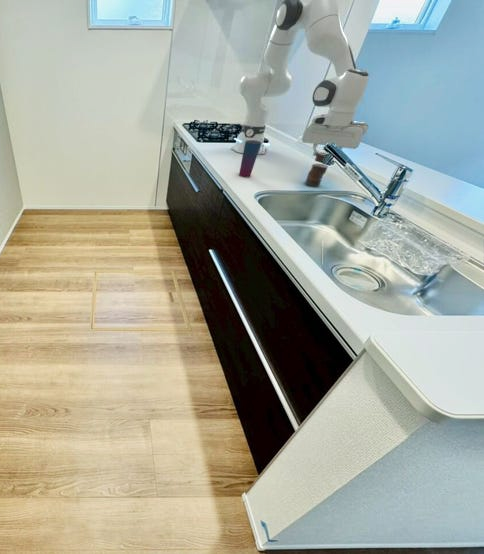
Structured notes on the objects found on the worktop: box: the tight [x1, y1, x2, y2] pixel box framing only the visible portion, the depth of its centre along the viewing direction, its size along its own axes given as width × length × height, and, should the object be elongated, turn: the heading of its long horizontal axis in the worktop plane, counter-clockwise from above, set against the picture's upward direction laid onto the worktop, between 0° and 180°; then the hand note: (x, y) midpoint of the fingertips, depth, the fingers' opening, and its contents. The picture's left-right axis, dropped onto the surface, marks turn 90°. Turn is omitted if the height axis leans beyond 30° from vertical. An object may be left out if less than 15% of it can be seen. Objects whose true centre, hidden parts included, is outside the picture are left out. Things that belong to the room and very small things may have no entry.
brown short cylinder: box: [314, 151, 327, 163], centre depth 124 cm, size 5×5×3 cm
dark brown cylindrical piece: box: [304, 163, 329, 188], centre depth 129 cm, size 6×6×8 cm
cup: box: [238, 140, 262, 178], centre depth 137 cm, size 7×7×15 cm
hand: (323, 156), depth 124 cm, fingers closed on brown short cylinder, 5 cm apart
